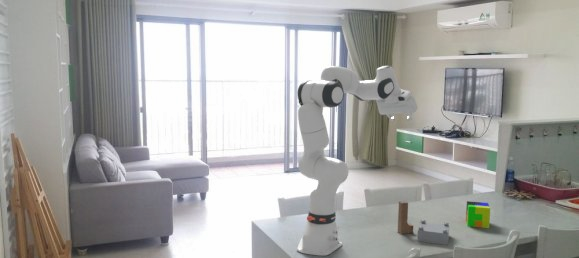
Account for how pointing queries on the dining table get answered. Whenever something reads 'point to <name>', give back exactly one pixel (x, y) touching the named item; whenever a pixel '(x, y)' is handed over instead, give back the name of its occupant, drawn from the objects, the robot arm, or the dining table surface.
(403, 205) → the wooden block
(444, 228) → the base brick
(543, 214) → the dining table surface
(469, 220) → the puzzle toy
